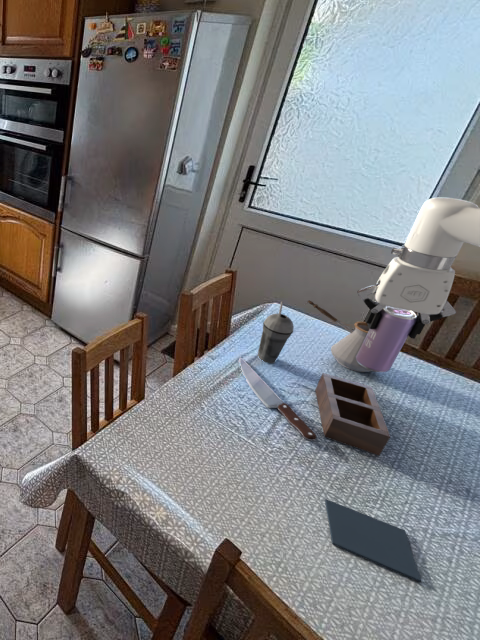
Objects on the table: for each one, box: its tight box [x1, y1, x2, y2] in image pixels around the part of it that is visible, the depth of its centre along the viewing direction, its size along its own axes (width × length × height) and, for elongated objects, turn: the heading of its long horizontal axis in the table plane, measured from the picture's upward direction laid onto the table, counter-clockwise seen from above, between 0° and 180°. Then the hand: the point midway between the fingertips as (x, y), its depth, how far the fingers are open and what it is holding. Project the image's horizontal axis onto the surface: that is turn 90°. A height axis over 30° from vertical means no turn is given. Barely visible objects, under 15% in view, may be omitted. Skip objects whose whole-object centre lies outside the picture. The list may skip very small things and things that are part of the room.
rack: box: [314, 372, 391, 456], centre depth 102 cm, size 18×10×6 cm, turn 148°
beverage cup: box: [257, 301, 295, 364], centre depth 121 cm, size 7×7×20 cm
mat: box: [324, 498, 422, 583], centre depth 78 cm, size 12×10×1 cm
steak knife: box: [238, 356, 317, 442], centre depth 111 cm, size 5×31×2 cm, turn 179°
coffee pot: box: [303, 300, 372, 373], centre depth 123 cm, size 21×12×15 cm, turn 38°
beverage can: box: [356, 306, 418, 373], centre depth 93 cm, size 6×6×15 cm
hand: (390, 330), depth 92 cm, fingers closed on beverage can, 6 cm apart
